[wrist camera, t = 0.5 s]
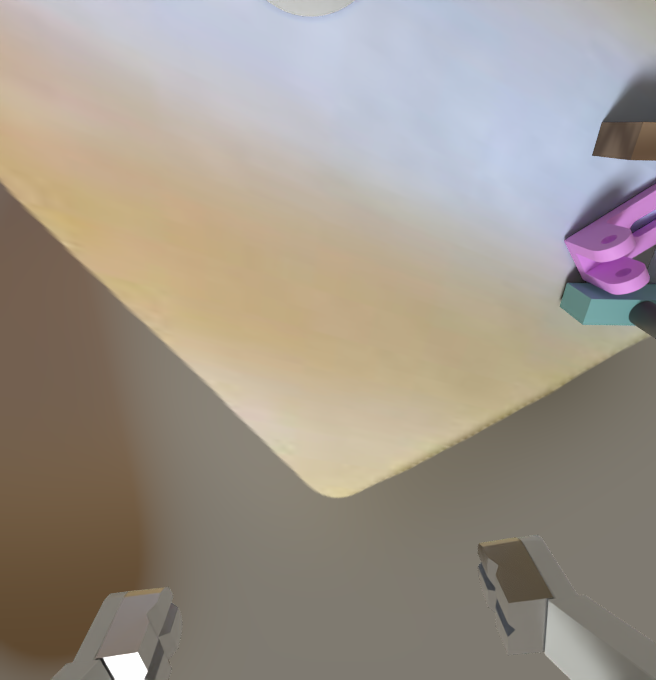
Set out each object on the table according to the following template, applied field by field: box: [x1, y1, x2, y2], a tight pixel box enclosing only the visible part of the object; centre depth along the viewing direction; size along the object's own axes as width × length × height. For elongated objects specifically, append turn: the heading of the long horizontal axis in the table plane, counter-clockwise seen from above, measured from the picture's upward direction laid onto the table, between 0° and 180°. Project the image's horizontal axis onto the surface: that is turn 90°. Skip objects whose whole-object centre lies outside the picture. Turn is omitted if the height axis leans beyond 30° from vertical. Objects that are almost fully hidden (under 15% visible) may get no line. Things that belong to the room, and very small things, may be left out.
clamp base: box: [588, 122, 656, 283], centre depth 42 cm, size 21×14×6 cm, turn 179°
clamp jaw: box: [560, 283, 656, 339], centre depth 42 cm, size 3×12×12 cm, turn 89°
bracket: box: [564, 184, 656, 295], centre depth 41 cm, size 13×6×7 cm, turn 126°
